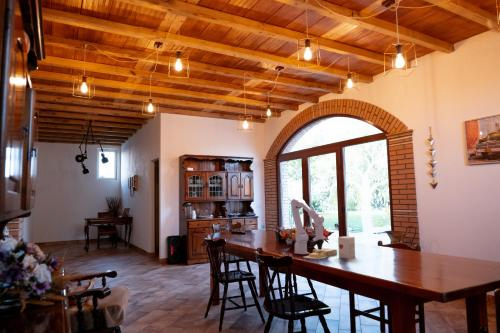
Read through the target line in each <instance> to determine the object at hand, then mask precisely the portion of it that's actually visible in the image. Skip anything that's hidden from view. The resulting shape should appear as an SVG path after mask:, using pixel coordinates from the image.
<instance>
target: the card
mask: <svg viewBox="0 0 500 333" xmlns="http://www.w3.org/2000/svg"><path fill="white" fill-rule="evenodd" d="M308 256H309V257H316V258H321V257H324V254H319V253H313V252H312V253H308Z"/></svg>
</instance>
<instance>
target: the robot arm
mask: <svg viewBox="0 0 500 333" xmlns="http://www.w3.org/2000/svg"><path fill="white" fill-rule="evenodd" d="M290 205H291V213H292V217H293V221H294V225H295V229H296V232H295V233H294V236H295V237H294V238H295V242H294V254H296V255H297V254H299V255H309V254H310V252H308V246H307V245H308V244H307V243H308V240H309V235H308V232H307V231H306V229H304V226H303V223H302V218H301V214H300V210H301V209H304V211H306V212H307V213H308V214H307V215H308V216H309V217H310V218H311V219H312V220H313V223H314V227H315V228H314V229H315V233H314V234H315V237H314V238H312V241H313V242H314V243H315V244H316V246H317V249H318V250H321V249H322V248H323V244H324V242H325V240H326V236H324V227H323V226H324V221H325V218H324V216H323V215H320V214H319V213H318V212H317V211H316V209H312V208H311V207H310V206H309V205H308V204H307V203H306V201H305V200H304V198H293V199H291V202H290Z"/></svg>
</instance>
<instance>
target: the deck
mask: <svg viewBox="0 0 500 333" xmlns="http://www.w3.org/2000/svg"><path fill="white" fill-rule="evenodd" d="M312 253H319V254H324V256H328V257H327V258H330V257H334V256H337V255H338V249H335V248H325V247H322V249H321V250H318V248H315V249H312Z"/></svg>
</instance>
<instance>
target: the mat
mask: <svg viewBox="0 0 500 333" xmlns="http://www.w3.org/2000/svg"><path fill="white" fill-rule="evenodd" d="M303 258H305V259H312V260H313V259H314V260H322V259H326V258H329V257H328V256H324V257H321V258H316V257H309V255H306V256H303Z"/></svg>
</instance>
